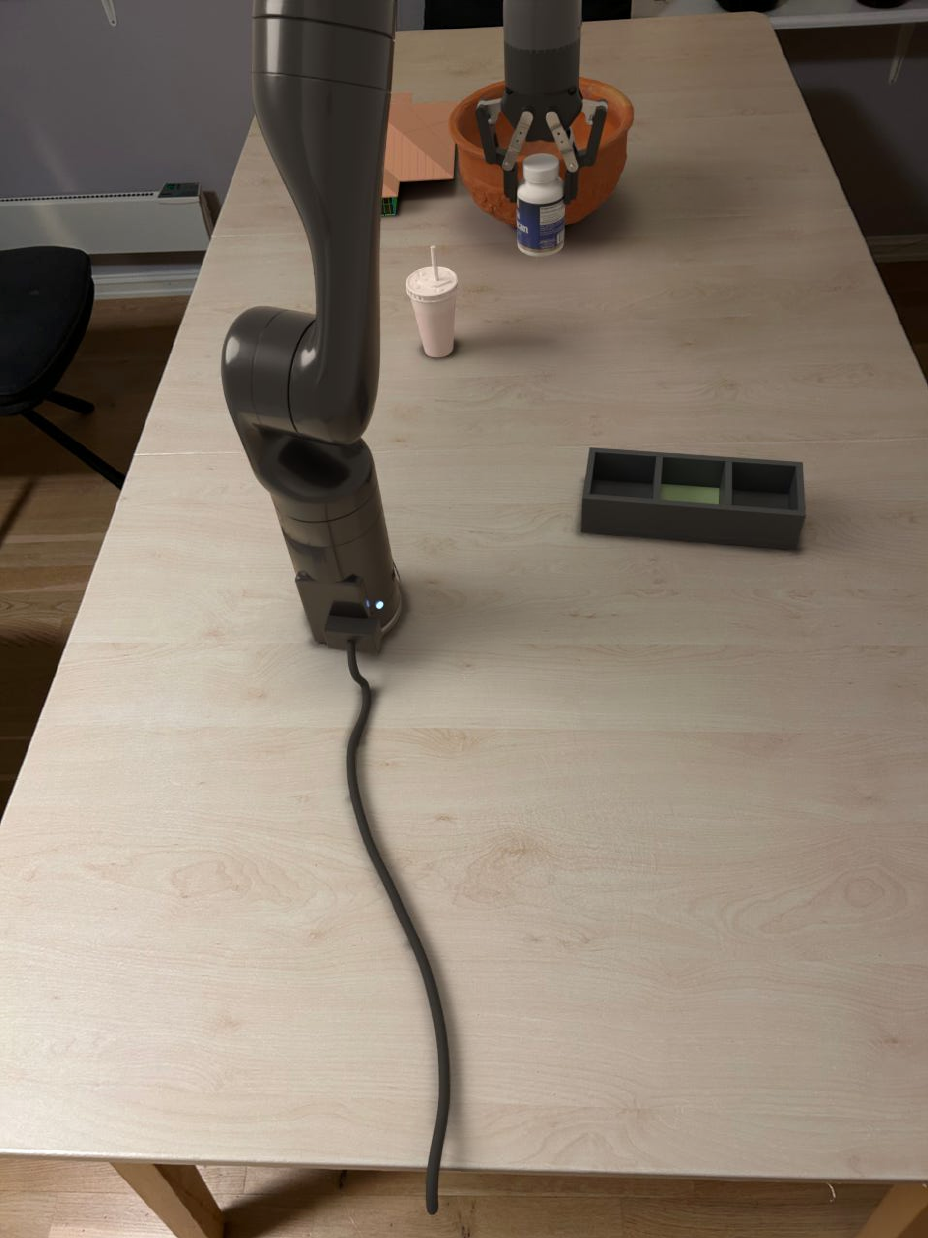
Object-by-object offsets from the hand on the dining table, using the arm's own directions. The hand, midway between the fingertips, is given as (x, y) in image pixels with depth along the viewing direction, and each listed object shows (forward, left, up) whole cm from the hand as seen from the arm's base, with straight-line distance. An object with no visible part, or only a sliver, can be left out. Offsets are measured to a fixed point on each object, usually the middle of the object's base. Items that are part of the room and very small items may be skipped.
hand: (541, 199), depth 104 cm
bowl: (+30, +4, -19) cm, 35 cm away
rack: (-28, -19, -19) cm, 39 cm away
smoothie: (-2, +13, -19) cm, 23 cm away
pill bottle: (0, 0, -6) cm, 6 cm away
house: (+45, +31, -19) cm, 57 cm away
